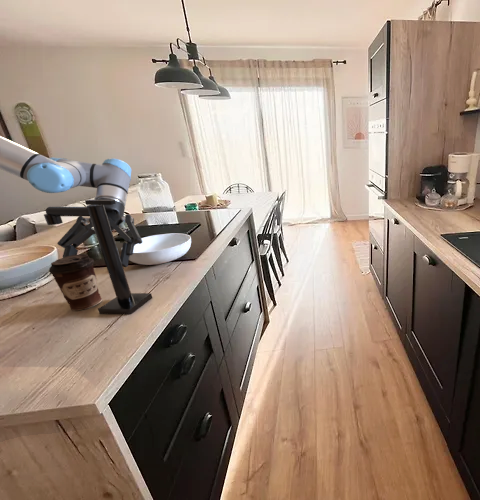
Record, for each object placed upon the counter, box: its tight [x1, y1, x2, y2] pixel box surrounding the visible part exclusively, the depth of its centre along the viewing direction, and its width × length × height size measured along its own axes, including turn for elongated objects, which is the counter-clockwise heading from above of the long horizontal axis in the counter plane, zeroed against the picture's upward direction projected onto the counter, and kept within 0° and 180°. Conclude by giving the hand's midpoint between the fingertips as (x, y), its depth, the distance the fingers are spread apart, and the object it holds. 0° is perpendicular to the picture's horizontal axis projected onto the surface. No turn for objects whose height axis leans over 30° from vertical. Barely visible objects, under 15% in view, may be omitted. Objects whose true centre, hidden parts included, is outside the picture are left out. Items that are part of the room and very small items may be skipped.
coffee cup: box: [48, 253, 103, 311], centre depth 73 cm, size 9×8×13 cm
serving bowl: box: [120, 232, 192, 266], centre depth 103 cm, size 21×21×7 cm
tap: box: [43, 199, 153, 315], centre depth 70 cm, size 17×8×28 cm, turn 88°
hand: (95, 267), depth 80 cm, fingers open, 13 cm apart
